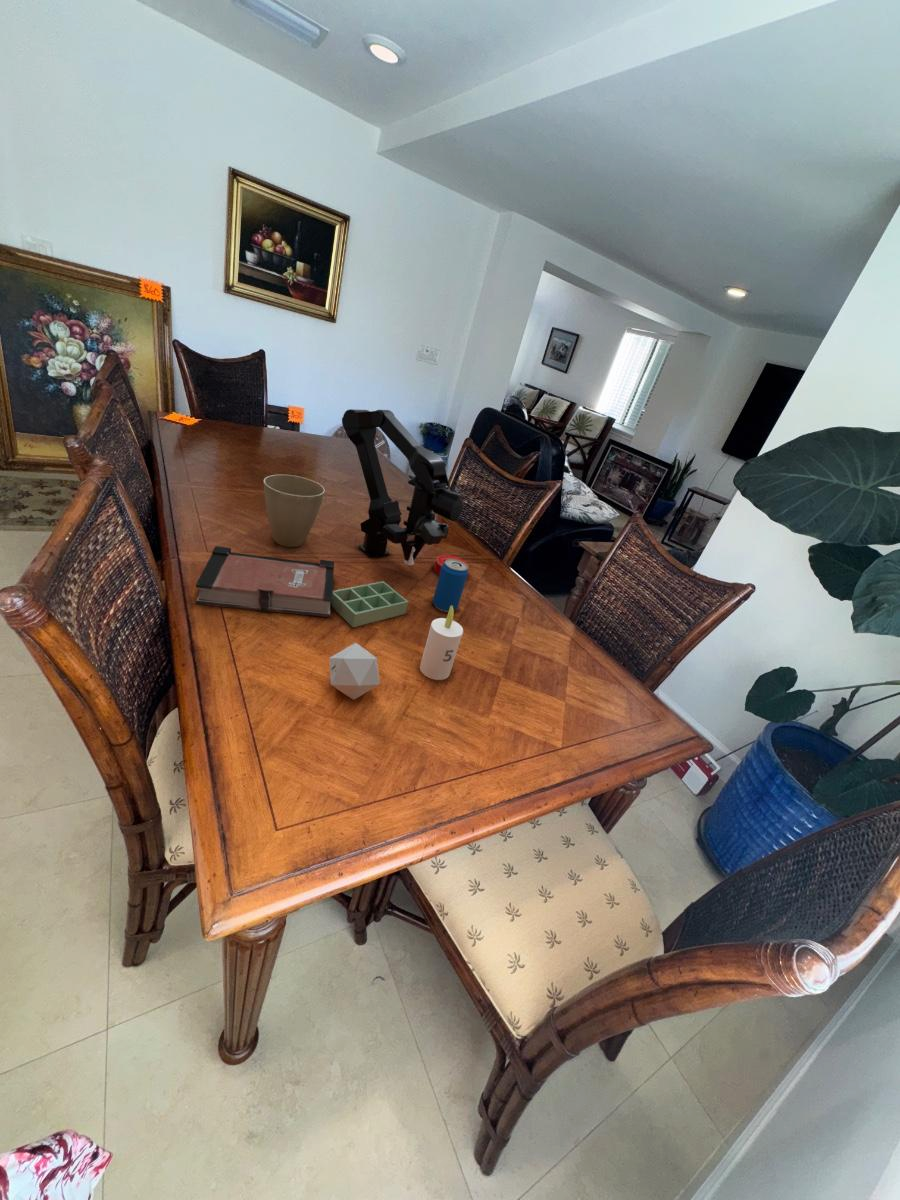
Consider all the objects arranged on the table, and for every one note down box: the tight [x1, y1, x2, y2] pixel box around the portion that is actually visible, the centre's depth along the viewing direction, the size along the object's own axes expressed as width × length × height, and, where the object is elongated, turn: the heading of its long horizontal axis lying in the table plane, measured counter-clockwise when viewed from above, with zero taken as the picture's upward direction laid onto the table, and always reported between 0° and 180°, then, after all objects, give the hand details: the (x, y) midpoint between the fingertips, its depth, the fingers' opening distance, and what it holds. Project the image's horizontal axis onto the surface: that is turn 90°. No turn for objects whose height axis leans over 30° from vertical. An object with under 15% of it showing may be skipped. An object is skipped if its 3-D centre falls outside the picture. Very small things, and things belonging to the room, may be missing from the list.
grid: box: [331, 580, 409, 628], centre depth 110 cm, size 10×15×3 cm
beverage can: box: [432, 559, 469, 613], centre depth 117 cm, size 6×6×12 cm
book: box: [195, 545, 335, 618], centre depth 106 cm, size 26×18×5 cm
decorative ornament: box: [433, 554, 470, 576], centre depth 138 cm, size 10×10×3 cm
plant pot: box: [263, 473, 326, 548], centre depth 126 cm, size 15×15×16 cm
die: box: [328, 642, 381, 701], centre depth 85 cm, size 8×9×10 cm
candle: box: [419, 605, 464, 681], centre depth 94 cm, size 6×6×15 cm
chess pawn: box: [403, 547, 415, 566], centre depth 131 cm, size 3×3×5 cm
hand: (409, 559), depth 131 cm, fingers closed on chess pawn, 2 cm apart
